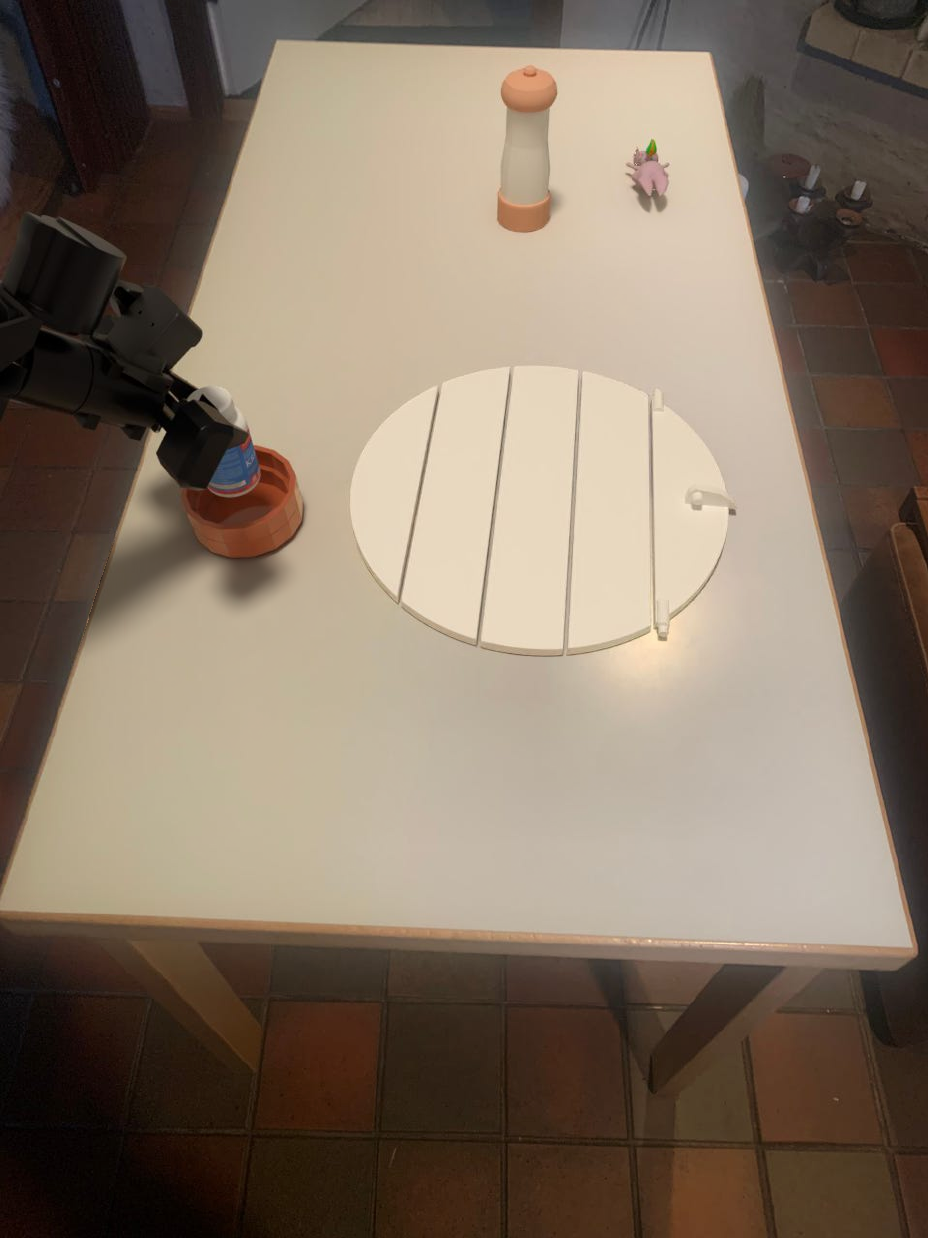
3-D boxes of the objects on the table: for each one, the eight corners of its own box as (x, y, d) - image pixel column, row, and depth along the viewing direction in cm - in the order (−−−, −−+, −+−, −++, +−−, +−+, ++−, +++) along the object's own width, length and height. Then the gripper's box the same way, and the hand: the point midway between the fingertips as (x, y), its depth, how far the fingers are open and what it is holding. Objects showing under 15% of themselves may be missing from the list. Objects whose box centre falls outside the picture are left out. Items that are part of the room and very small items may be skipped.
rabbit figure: (621, 168, 127) (630, 208, 116) (626, 124, 122) (636, 161, 112) (662, 169, 127) (675, 208, 116) (669, 125, 122) (683, 161, 112)
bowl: (174, 544, 85) (159, 511, 81) (228, 468, 91) (216, 434, 87) (273, 573, 83) (262, 541, 79) (321, 493, 89) (314, 460, 85)
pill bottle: (265, 493, 81) (243, 415, 73) (209, 504, 80) (180, 427, 72) (257, 453, 84) (235, 375, 76) (203, 464, 83) (175, 386, 75)
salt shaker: (544, 201, 120) (554, 50, 104) (553, 230, 116) (565, 78, 100) (493, 205, 119) (496, 54, 103) (500, 234, 115) (504, 82, 99)
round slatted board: (723, 385, 98) (730, 361, 95) (748, 675, 76) (758, 655, 73) (384, 363, 101) (381, 339, 98) (315, 636, 79) (309, 615, 76)
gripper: (177, 342, 57) (331, 398, 71) (58, 226, 65) (216, 295, 79) (111, 478, 61) (269, 507, 74) (6, 351, 69) (166, 397, 82)
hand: (230, 421), depth 77 cm, fingers closed on pill bottle, 5 cm apart
